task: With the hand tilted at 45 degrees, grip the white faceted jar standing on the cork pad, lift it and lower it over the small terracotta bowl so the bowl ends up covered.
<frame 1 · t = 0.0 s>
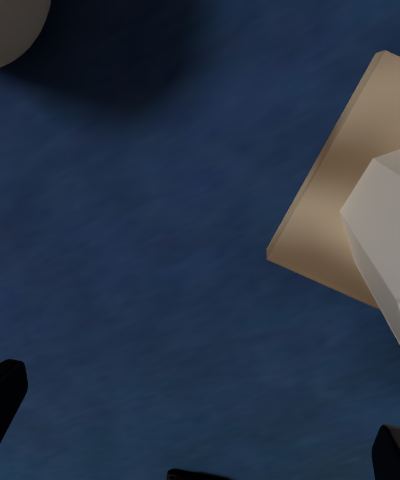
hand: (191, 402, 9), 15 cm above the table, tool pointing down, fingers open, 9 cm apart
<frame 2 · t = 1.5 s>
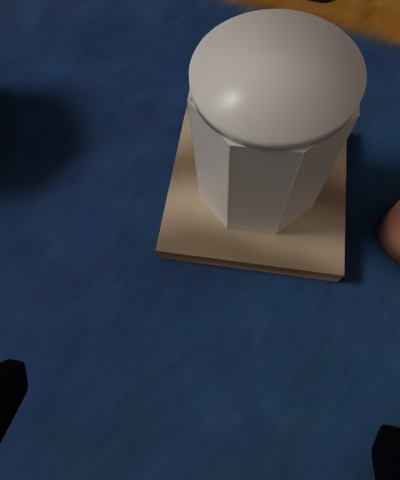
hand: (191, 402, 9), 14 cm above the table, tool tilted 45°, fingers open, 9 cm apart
cork pad: (254, 191, 26), on the table
white faceted jar: (256, 181, 25), point 1 cm above the table, touching cork pad
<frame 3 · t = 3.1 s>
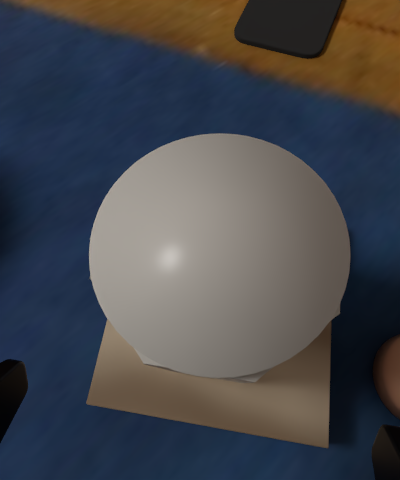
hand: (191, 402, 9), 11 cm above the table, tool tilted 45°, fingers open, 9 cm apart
cork pad: (219, 309, 21), on the table
white faceted jar: (219, 304, 20), point 1 cm above the table, touching cork pad
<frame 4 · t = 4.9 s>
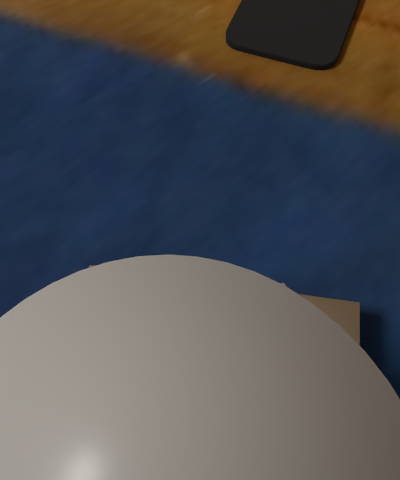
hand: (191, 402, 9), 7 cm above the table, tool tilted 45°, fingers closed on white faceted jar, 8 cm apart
cork pad: (199, 429, 15), on the table
white faceted jar: (197, 434, 14), point 2 cm above the table, touching cork pad, gripper
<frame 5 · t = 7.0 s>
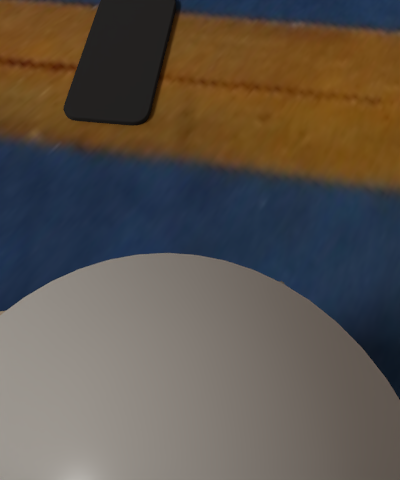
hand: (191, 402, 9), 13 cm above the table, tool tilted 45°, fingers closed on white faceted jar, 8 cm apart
phone: (125, 60, 32), on the table
white faceted jar: (196, 433, 14), point 8 cm above the table, touching gripper
when the fingers open (7 cm above the table, at t = 9.5 s): white faceted jar drops 1 cm, on the table.
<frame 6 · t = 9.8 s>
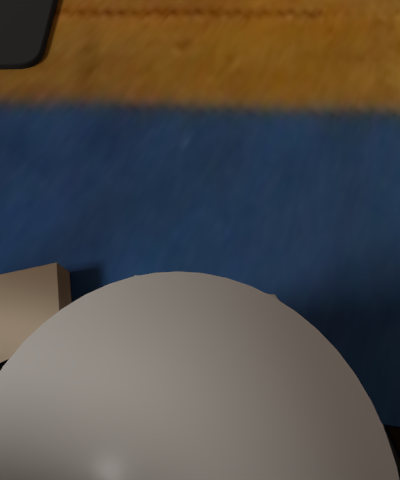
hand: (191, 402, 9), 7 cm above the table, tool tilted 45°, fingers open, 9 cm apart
white faceted jar: (200, 425, 15), on the table
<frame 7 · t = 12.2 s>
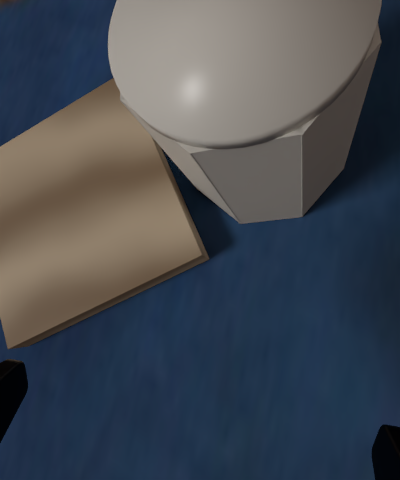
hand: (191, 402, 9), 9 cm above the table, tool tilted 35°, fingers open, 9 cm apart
cork pad: (83, 212, 22), on the table
white faceted jar: (264, 152, 19), on the table
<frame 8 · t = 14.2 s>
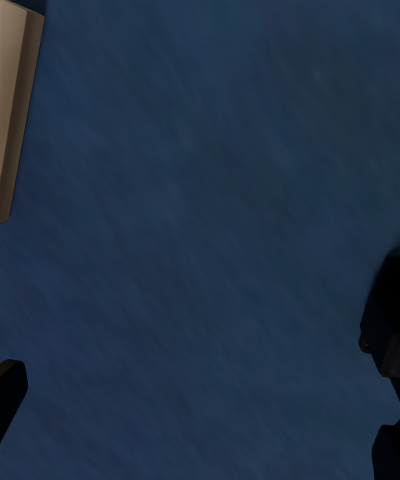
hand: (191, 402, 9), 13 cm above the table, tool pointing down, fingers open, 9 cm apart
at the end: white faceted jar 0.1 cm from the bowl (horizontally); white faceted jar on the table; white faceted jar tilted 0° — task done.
